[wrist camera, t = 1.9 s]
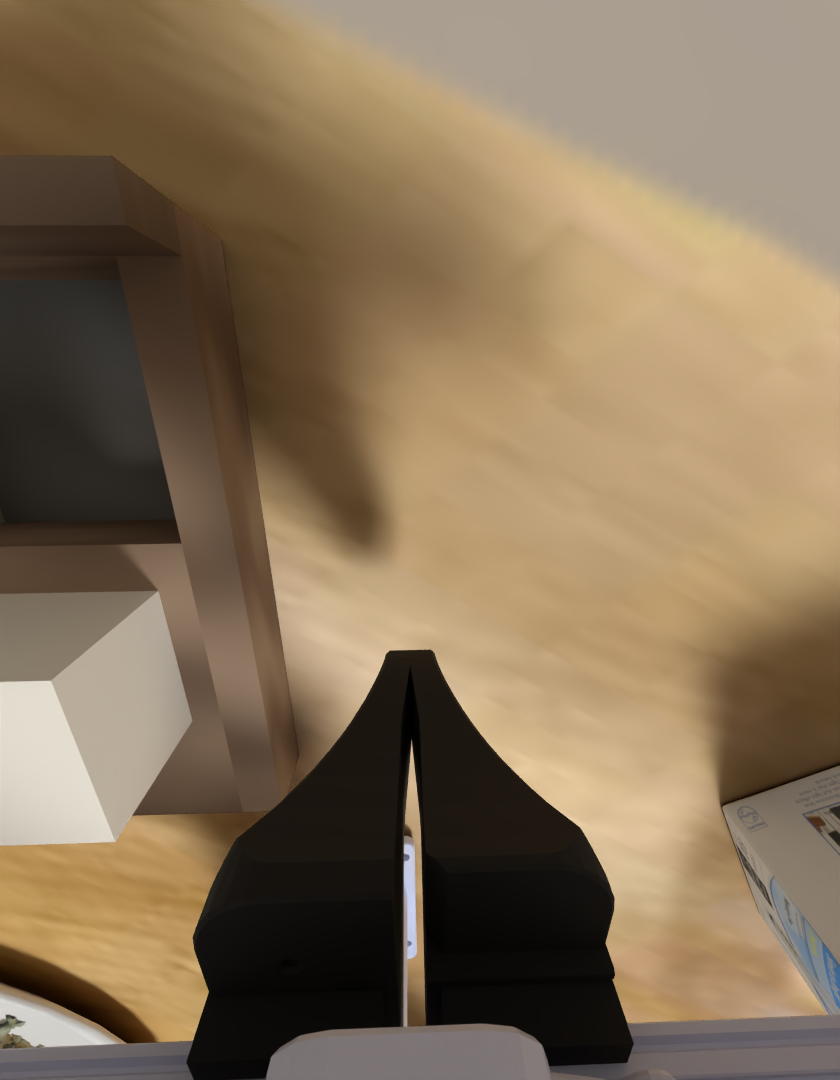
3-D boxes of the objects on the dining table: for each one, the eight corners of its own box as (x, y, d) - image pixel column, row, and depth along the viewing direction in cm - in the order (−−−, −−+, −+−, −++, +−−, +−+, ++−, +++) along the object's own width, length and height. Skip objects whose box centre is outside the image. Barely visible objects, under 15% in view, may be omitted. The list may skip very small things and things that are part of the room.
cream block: (192, 721, 14) (115, 841, 10) (43, 724, 14) (-88, 848, 10) (158, 590, 12) (50, 680, 9) (-13, 594, 12) (-196, 686, 9)
